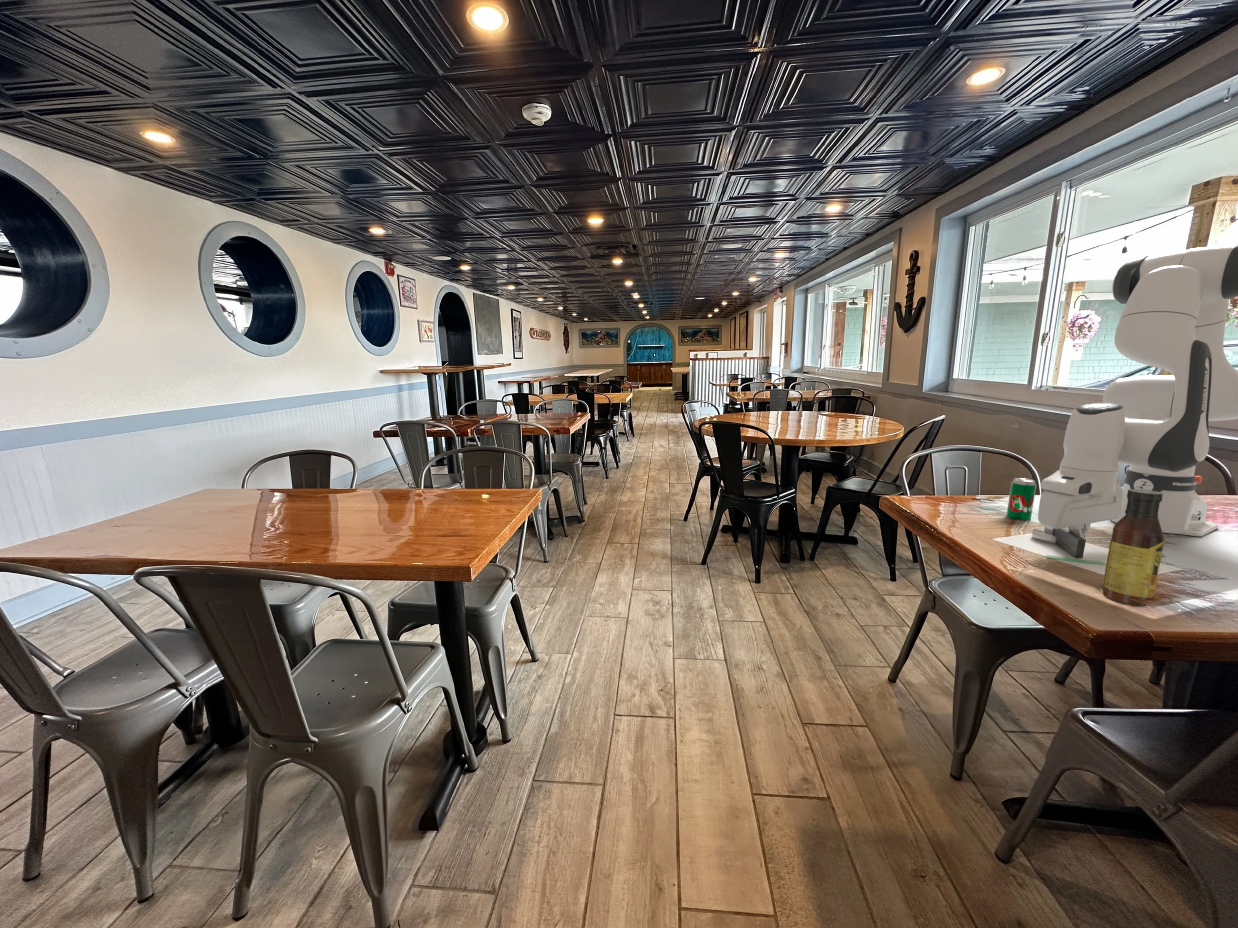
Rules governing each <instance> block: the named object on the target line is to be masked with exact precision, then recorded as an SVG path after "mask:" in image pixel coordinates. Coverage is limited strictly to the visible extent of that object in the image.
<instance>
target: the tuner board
mask: <svg viewBox="0 0 1238 928" xmlns="http://www.w3.org/2000/svg"><path fill="white" fill-rule="evenodd" d="M991 540H992V541H996V542H999V543H1002V544H1004V545H1008V546H1011V547H1015V548H1018V549H1019V550H1020V549H1021V550H1024V551H1025V552H1026V551H1027V552H1030V553H1033V554H1036V555H1038V556H1039V555H1040V556H1043V557H1046V558H1047V559H1050V560H1051V559H1052V560H1055V561H1059V562H1061V563H1064V564H1068V565H1071V566H1074V567H1077V568H1080V569H1084V570H1087V571H1090V572H1093V573H1096V574H1100V575H1102V576H1104V574H1105V568H1106V562H1107V557H1108V551H1109V547H1108V548H1107V547H1103V546H1099V545H1096V544H1093V543H1088V542H1086V543H1085V548H1084V554H1083V558H1075V557H1074V556H1072V555H1071V554H1069V553H1068V552H1066V551H1065V550H1063V549H1062V548H1060V547H1059V546H1058V545H1056V544H1052V543H1047V542H1042V541H1039V540H1036V539H1034V538H1033V537H1032V532H1031V533H1030V532H1029V533H1026V534H1025V533H1024V534H1018V535H1017V534H1015V535H1011V536H1003V537H996V538H991ZM1182 570H1184V569H1183V568H1180V567H1176V566H1173V565H1170V564H1165V563H1161V562H1160V566H1159V571H1158V575H1163V574H1166V573H1171V572H1177V571H1182Z"/></svg>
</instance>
